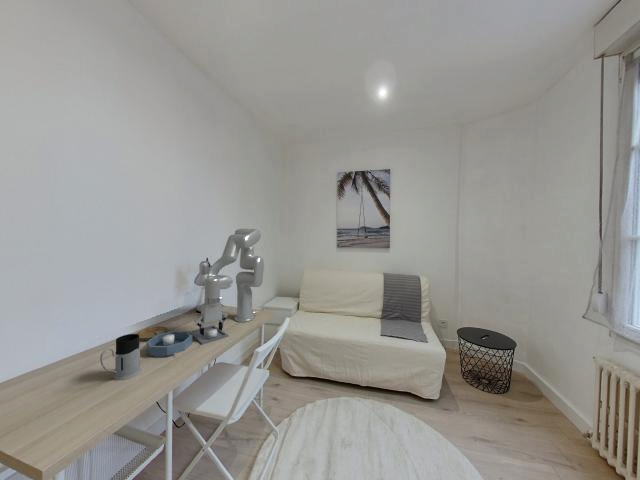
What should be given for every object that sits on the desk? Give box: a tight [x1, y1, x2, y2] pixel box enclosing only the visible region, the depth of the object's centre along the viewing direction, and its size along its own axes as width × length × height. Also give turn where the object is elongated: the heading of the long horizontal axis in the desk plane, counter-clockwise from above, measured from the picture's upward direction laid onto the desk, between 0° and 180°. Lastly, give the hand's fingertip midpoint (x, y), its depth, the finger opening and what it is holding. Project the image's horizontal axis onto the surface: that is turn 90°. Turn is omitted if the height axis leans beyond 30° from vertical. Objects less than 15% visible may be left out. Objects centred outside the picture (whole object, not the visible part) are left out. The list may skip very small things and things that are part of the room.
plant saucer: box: [135, 326, 169, 341], centre depth 136 cm, size 15×15×3 cm
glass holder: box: [99, 333, 142, 381], centre depth 98 cm, size 9×14×15 cm, turn 164°
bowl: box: [146, 330, 193, 358], centre depth 123 cm, size 18×18×5 cm
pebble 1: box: [163, 334, 174, 346], centre depth 126 cm, size 5×5×4 cm
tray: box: [188, 324, 229, 345], centre depth 137 cm, size 14×19×2 cm
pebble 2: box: [207, 329, 217, 340], centre depth 134 cm, size 5×5×4 cm
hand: (211, 332), depth 133 cm, fingers open, 9 cm apart
